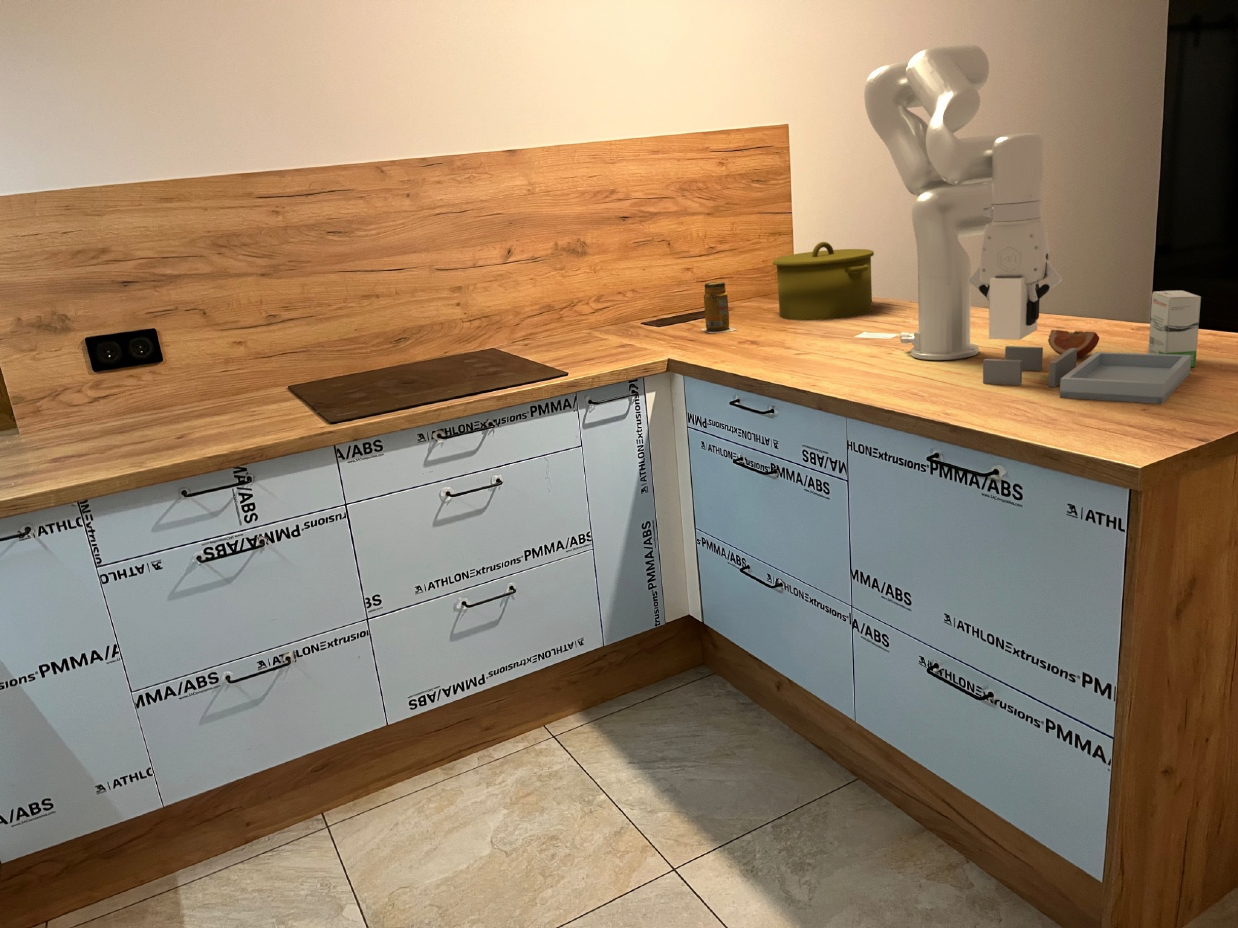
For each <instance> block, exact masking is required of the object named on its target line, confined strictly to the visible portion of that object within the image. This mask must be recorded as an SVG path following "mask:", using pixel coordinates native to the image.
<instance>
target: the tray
mask: <svg viewBox="0 0 1238 928" xmlns="http://www.w3.org/2000/svg"><path fill="white" fill-rule="evenodd" d="M1191 368H1192V367H1191V355H1172V354H1148V353H1136V352H1112V351H1111V352H1110V351H1109V352H1108V351H1106V352H1105V351H1096V352H1094V353H1092V354H1091V355H1090V356H1088V358H1086V359H1085V360H1083V361H1082V362H1080V363H1079V364H1078V365H1076V367H1075V368H1074V369H1073V370H1071V371H1070V372H1069V373H1067V374H1066V375H1065V376H1063V377H1062V378H1061V381H1060V384H1059V386H1060V387H1059V398H1063V399H1078V400H1094V401H1095V400H1097V401H1106V402H1107V401H1109V402H1122V403H1123V402H1125V403H1141V404H1142V403H1143V404H1153V405H1154V404H1156V405H1157V404H1158V405H1162V404H1164V402H1165V401H1167V400H1168V398H1169V397H1170V396H1171V395H1172V394H1173V393H1174V392H1175V391H1176V390H1177V388H1178V387H1179V386H1180V385H1182V383H1183V382H1184V381H1185V380H1186V379H1187V377H1188V376H1189V375H1190V374H1191Z"/></svg>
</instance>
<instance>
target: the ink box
mask: <svg viewBox="0 0 1238 928" xmlns="http://www.w3.org/2000/svg"><path fill="white" fill-rule="evenodd" d="M1201 299H1202V296H1200V295H1198V294H1194V293H1191V292H1189V291H1185V290H1160V291H1153V292H1152V295H1151V305H1150V306H1151V308H1150V322H1149V323H1150V324H1149V335H1148V337H1149V338H1148V351H1147V354H1172V355H1191V367H1190V368H1196V366H1197V365H1196V364H1197V350H1198V340H1199V339H1198V338H1199V337H1198V336H1199V328H1200V327H1199V325H1200V312H1201V311H1200V310H1201V301H1202V300H1201Z"/></svg>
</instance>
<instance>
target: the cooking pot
mask: <svg viewBox="0 0 1238 928" xmlns="http://www.w3.org/2000/svg"><path fill="white" fill-rule="evenodd" d="M823 248H824V249H825V250H821V249H823ZM874 255H875V253H874V250H873V249H872V250H871V249H864V248H846V249H845V248H844V249H834V248H833V246H832V245H831V244H830V243H829V242H827V241H822V242H821V241H820V242H819V243H817V244H816V245H815V247H814V248H813V251H809V252H800V253H793V254H789V255H784V256H779V257H777V258H774V259H773V261H772V265H774V266H776V273H777V291H778V307H779V308H778V309H779V310H778V311H779V312H778V313H779V318H781V319H785V320H789V321H791V320H792V321H828V320H838V319H845V318H852V317H857V316H861V315H865V314H868V313H870V312H871V311H873V300H872V299H873V297H872V296H873V293H872V291H873V290H872V289H873V288H872V287H873V286H872V257H873V256H874Z"/></svg>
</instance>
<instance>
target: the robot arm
mask: <svg viewBox="0 0 1238 928" xmlns="http://www.w3.org/2000/svg"><path fill="white" fill-rule="evenodd" d="M989 73H990V61H989V57H988V56H987V53H986V52H985V51H984V50H983V49H982V47H980V46H978V45H977V44H969V43H968V44H967V43H965V44H958V45H957V44H956V45H955V44H953V45H946V46H936V47H929V48H926V49H923V50H921V51H919V52H917V53H916V54H915V55H914V56H913V57H912V58H911V59H910V60H909V61H903V62H902V61H901V62H896V63H891V64H886V65H883V66H881V67H879V68H876V70H874V71H872V72H871V73H870V74H869V76H868V77H867V79H866V81H865V84H864V92H863V94H864V95H863V97H864V98H863V99H864V105H865V111H866V114H867V118H868V120H869V122H870V125H871V126H872V128H873V129H874V131H875V132H876V134H877V136H879V138H880V139H881V140H882V142H883V143H884V145H885V146H886V147H887V149H888V152H889V154H890V156H891V158H892V160H893V163H894V165H895V167H896V169H897V171H898V174H899V176H900V178H901V181H902V183H903V184H904V185H903V186H904V187H905V188H906V190H907V191H908V192H909V193H910V194H911V195H914V196H916V197H917V198H916V199H915V200H914V202H913V205H912V208H911V220H912V225H913V230H914V231H913V232H914V236H915V243H916V253H917V277H918V279H917V282H918V283H917V287H918V288H917V289H918V290H917V291H918V292H917V293H918V294H917V295H918V297H917V299H918V302H917V303H918V306H917V307H918V330H917V331H916V332H901V333H900V336H899V341H900V343H901V344H912V345H913V347H912V348H911V349H910V356H912V357H913V358H916V359H920V360H925V361H928V360H929V361H951V360H960V359H967V358H971V357H973V356H976V355H978V353H979V352H980V349H979V346H978V345H977V344H974V343H971V285H972V286H973V287H974V288H976V289H978V291H979V292H980V293H981V294H982V295H983V296H984V297H985V298H986V301H988V302H989V303H988V304H989V305H990V279H991V278H995V276H1019V275H1022V277H1025V285H1027V290H1028V294H1029V301H1028V302H1027V311H1026V325H1027V326H1031V325H1032V324H1034V323H1035V322H1036V320H1037V321H1038V319H1039V317H1040V300H1041V299H1042V298H1043V296H1045V295H1046V294H1047V293H1048V292H1049V291H1051V289H1053V288H1054V287H1055V286H1057V285H1058V284H1059V283H1061V282H1062V280H1063V276H1062V275H1061V274H1060V273H1059V272H1058V271H1057V270H1056V268H1055V266H1053V263H1051V262H1050V245H1049V244H1050V243H1049V242H1050V241H1049V234H1048V229H1047V228H1048V227H1047V223H1046V220H1045V219H1042V208H1043V207H1042V201H1043V200H1042V199H1043V197H1042V196H1043V171H1044V170H1043V169H1044V138H1043V136H1042V135H1041V134H1040V133H1037V132H1025V133H1001V134H991V135H983V136H982V135H981V136H972V137H964V138H958V137H957V136H956V135H955V134H954V133H956V132H958V131H959V130H960V129H963V128H964V127H966V125H968V124H969V123H970V122H971V121H972V120H973V119H974V117H975V116H976V115H977V113H978V110H979V109H980V106H981V97H980V93H979V92H978V91H980V90H981V89H982V88H983V87H984V85H985V84H986V82H987V81H988V78H989ZM919 107H920V108H922V107H923V108H924V110H925V111H926V112H927V115H928V116H929V117H930V120H929V123H927V122H926V121H925V120H924V119H923V118H921V116H918V114H916V113H914V112H912V111H911V110H909V108H910V109H912V108H919ZM979 235H983V237H982V243H981V253H980V263H979V268H977V270H975V273H973V274H972V275H971V272H972V271H971V269H972V268H971V259H970V256H969V255H968V252H967V251H966V248H964V246H963V245H962V243H961V242H960V239H961V238H966V237H973V236H974V237H975V236H979ZM1047 278H1048V280H1047V281H1046V282H1045V283H1043V284H1042V285H1041V284H1040V282H1041V281H1044V280H1045V279H1047ZM989 305H988V306H989Z"/></svg>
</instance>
